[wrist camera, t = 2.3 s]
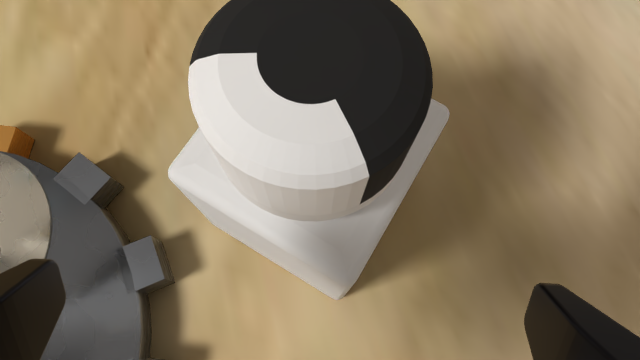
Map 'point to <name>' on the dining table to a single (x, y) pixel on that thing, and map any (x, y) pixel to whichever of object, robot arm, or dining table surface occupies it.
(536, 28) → the dining table surface
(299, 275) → the medicine bottle
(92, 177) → the sprocket plate
